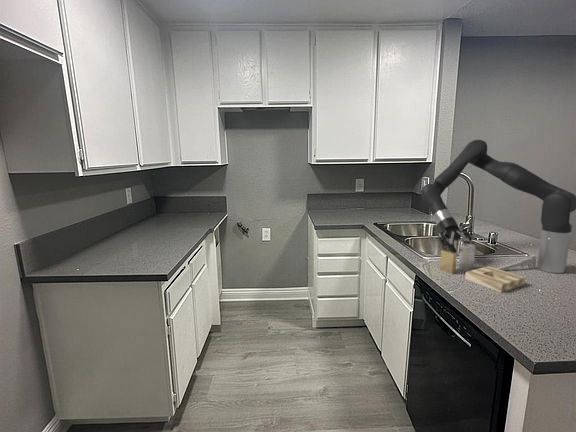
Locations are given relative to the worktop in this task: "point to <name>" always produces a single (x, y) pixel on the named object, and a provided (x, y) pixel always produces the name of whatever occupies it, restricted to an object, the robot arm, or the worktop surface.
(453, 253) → the light brown wooden block
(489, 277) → the socket block
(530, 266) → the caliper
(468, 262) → the square bit
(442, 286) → the worktop surface
